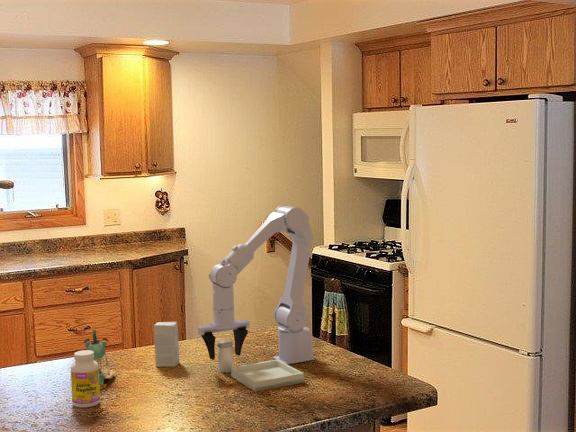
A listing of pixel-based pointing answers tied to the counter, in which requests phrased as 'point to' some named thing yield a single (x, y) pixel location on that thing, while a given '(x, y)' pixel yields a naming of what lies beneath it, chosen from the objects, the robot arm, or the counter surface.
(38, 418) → the counter surface
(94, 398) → the supplement bottle
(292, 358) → the robot arm
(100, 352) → the frog figurine
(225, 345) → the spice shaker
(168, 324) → the skincare box
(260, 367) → the tray
